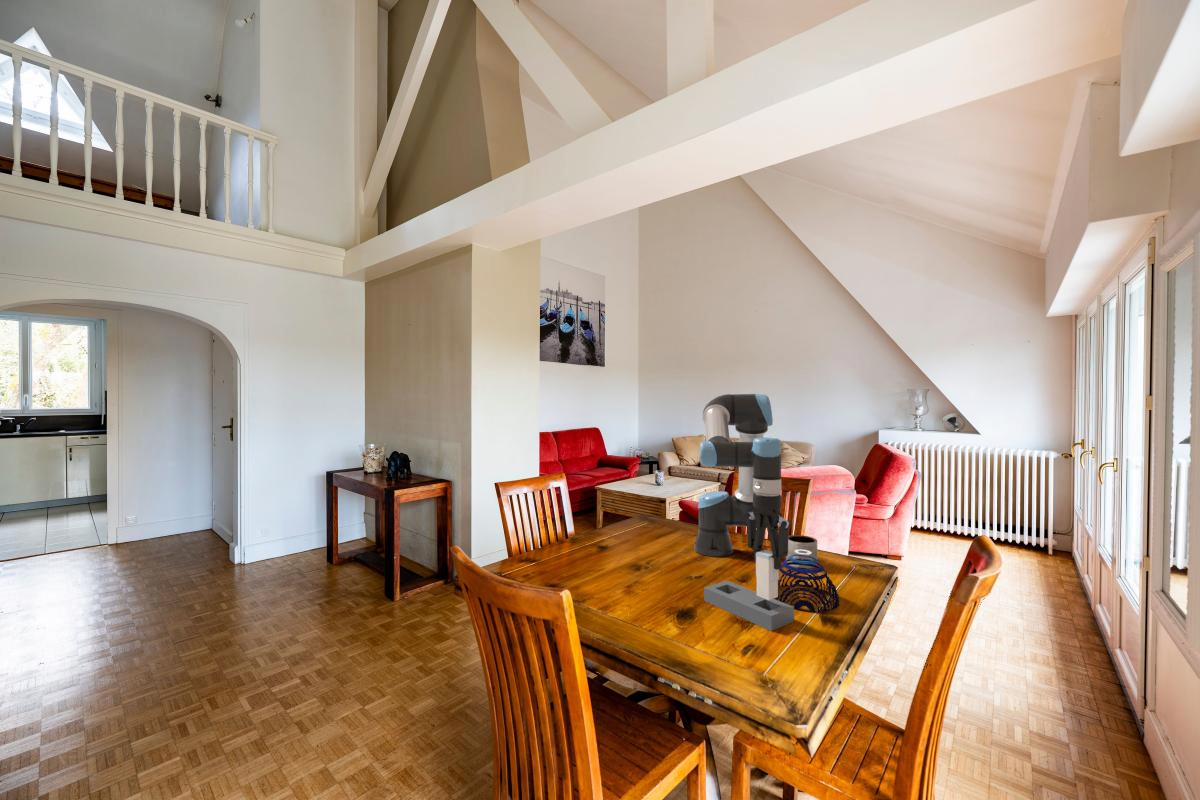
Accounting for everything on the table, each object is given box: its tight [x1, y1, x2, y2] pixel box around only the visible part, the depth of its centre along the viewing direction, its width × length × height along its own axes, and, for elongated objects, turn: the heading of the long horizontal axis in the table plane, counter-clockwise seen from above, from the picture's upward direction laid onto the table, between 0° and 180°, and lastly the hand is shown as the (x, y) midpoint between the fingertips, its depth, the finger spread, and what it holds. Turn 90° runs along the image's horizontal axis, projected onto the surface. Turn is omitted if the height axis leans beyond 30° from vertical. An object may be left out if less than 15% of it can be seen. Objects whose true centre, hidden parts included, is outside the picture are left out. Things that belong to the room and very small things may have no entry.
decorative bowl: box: [774, 549, 840, 613], centre depth 153 cm, size 20×20×14 cm
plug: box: [756, 549, 779, 600], centre depth 138 cm, size 4×4×12 cm
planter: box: [785, 534, 819, 570], centre depth 183 cm, size 11×11×10 cm
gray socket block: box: [703, 580, 795, 632], centre depth 144 cm, size 10×24×4 cm, turn 35°
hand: (767, 577), depth 138 cm, fingers closed on plug, 4 cm apart
